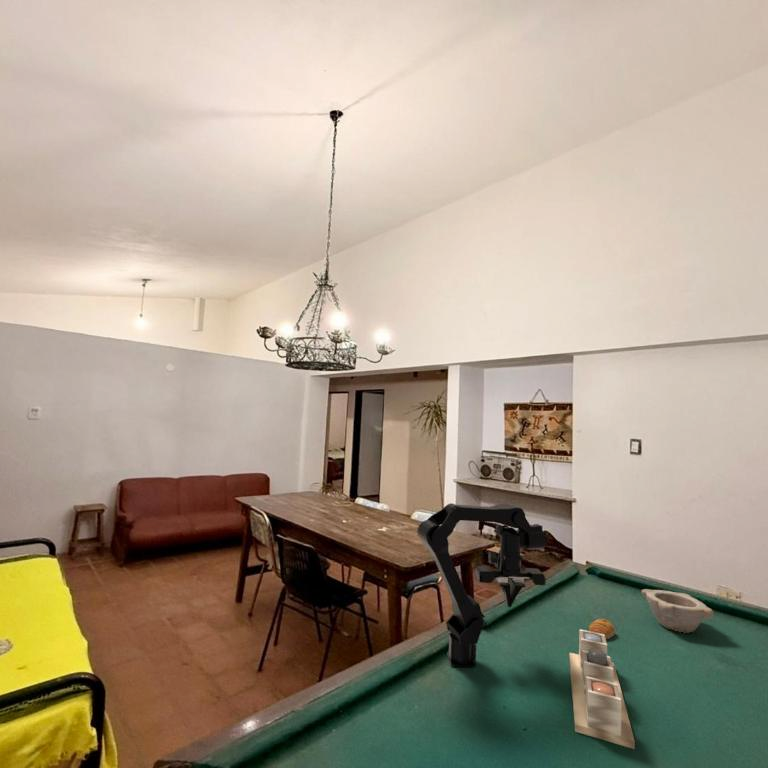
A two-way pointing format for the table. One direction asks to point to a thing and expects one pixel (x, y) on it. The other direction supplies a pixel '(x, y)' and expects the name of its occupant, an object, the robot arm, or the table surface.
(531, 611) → the table surface
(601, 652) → the grey rounded piece
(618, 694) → the button console
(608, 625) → the pastry
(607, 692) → the terracotta button
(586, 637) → the pale blue rounded knob
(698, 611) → the mortar
